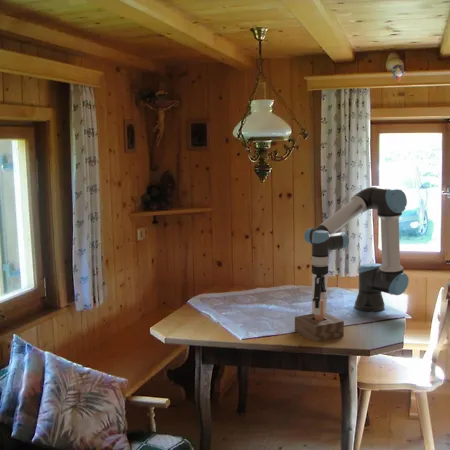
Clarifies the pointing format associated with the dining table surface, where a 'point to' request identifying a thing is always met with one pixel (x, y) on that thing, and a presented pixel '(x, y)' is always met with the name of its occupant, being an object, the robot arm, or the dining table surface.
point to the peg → (321, 316)
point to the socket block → (319, 327)
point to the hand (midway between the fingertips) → (319, 310)
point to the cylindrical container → (324, 293)
